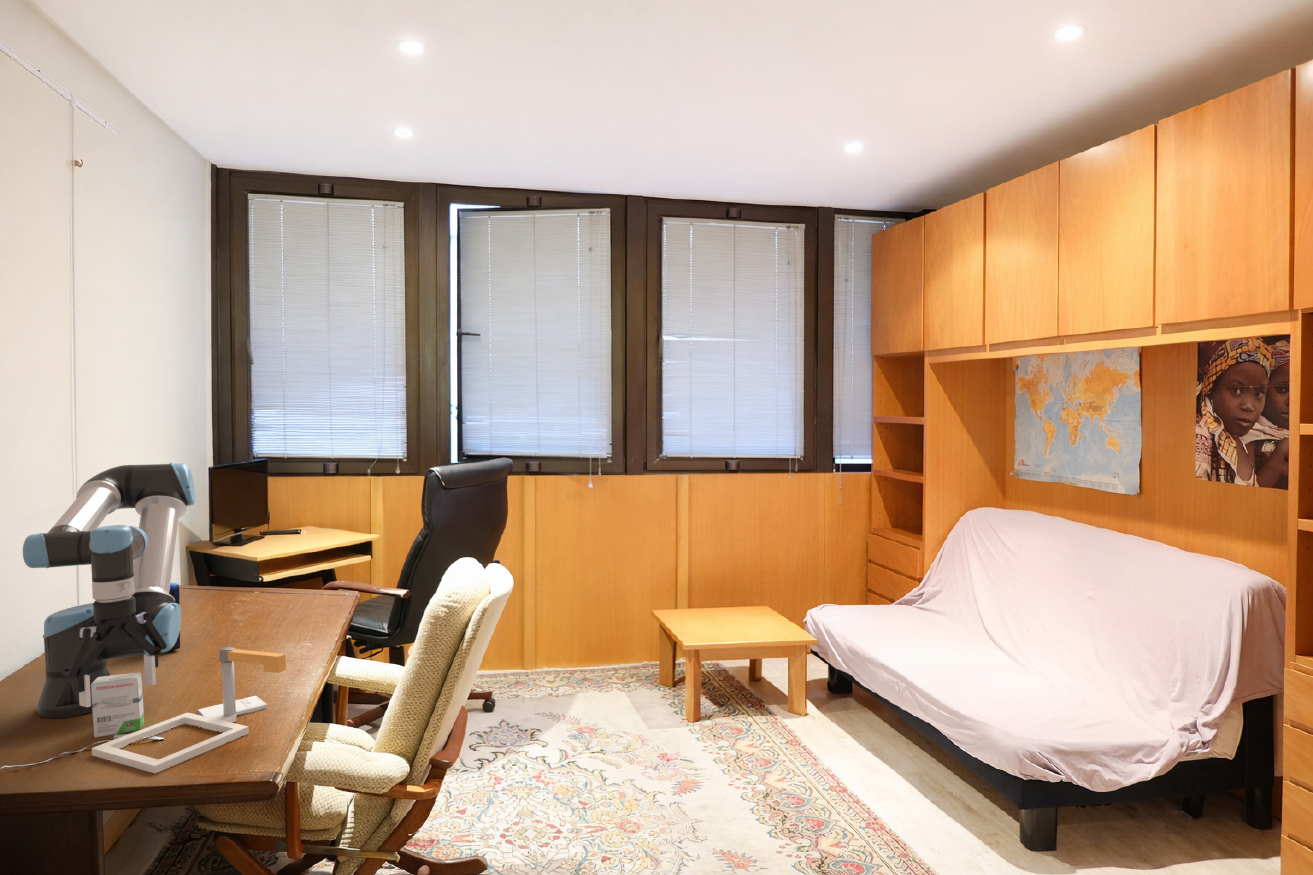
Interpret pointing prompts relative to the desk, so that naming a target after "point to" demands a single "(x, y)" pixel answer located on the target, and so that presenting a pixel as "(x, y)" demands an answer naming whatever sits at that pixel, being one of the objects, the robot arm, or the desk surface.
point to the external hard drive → (241, 707)
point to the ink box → (117, 704)
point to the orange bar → (255, 658)
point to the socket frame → (216, 724)
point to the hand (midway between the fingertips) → (119, 694)
